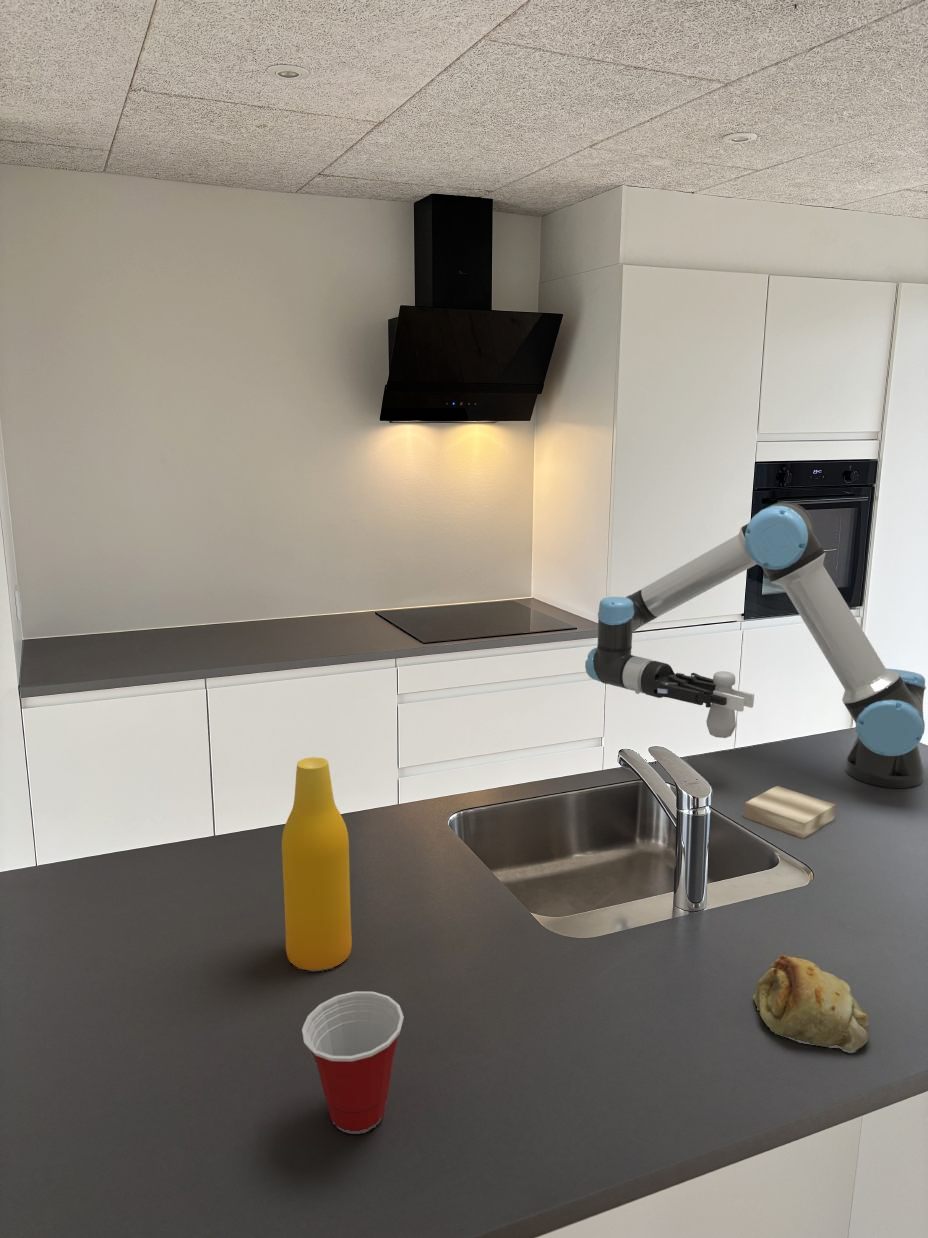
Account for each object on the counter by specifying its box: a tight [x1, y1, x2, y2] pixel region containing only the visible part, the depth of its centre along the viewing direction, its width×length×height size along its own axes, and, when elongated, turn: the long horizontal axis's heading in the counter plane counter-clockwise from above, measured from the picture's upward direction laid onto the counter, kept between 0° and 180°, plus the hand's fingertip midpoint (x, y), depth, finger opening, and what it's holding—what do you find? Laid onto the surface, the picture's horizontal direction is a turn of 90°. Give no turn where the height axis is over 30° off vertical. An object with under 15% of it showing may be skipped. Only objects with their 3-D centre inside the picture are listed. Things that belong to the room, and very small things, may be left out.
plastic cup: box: [301, 991, 404, 1131], centre depth 97 cm, size 11×11×12 cm
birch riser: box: [743, 785, 836, 840], centre depth 171 cm, size 12×12×3 cm
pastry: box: [752, 954, 871, 1052], centre depth 113 cm, size 14×12×8 cm
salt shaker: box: [706, 670, 737, 739], centre depth 181 cm, size 6×6×13 cm
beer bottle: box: [281, 756, 353, 970], centre depth 125 cm, size 9×9×29 cm
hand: (747, 702), depth 177 cm, fingers closed on salt shaker, 3 cm apart
